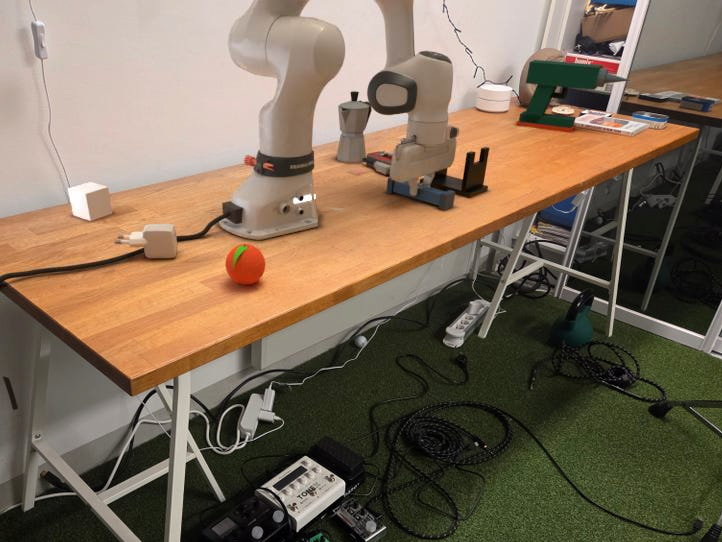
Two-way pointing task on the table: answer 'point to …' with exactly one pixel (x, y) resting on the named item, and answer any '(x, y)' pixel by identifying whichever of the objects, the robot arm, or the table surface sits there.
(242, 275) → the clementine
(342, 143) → the coffee maker
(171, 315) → the table surface
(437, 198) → the handle
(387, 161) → the walkie-talkie
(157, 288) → the table surface
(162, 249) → the power adapter
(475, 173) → the holder
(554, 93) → the power tool
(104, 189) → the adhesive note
